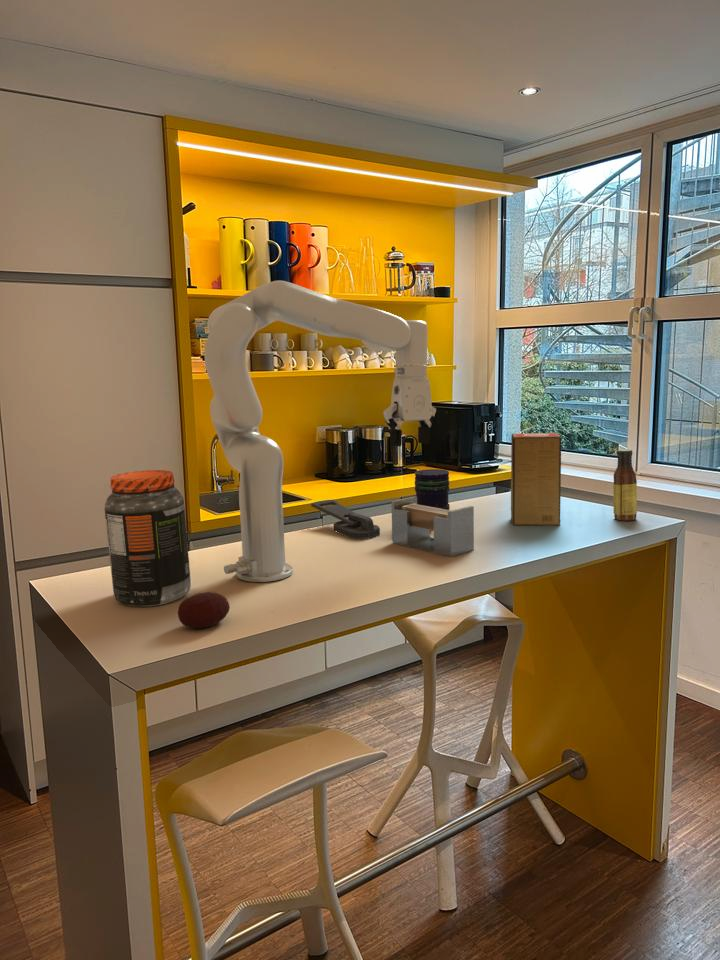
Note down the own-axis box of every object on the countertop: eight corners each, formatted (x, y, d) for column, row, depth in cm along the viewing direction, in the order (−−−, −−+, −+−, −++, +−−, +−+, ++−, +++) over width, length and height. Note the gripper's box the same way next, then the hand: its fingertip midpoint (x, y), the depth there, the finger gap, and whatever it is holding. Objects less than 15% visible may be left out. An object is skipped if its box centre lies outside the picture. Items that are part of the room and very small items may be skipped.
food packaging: (556, 518, 213) (558, 432, 209) (561, 525, 204) (562, 436, 200) (510, 518, 215) (510, 432, 211) (512, 525, 206) (512, 436, 201)
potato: (171, 627, 136) (169, 595, 135) (220, 613, 143) (218, 583, 142) (189, 638, 131) (187, 604, 130) (239, 623, 137) (237, 591, 136)
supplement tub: (172, 580, 165) (163, 465, 161) (204, 596, 153) (196, 473, 148) (101, 595, 155) (90, 474, 151) (130, 615, 143) (118, 484, 139)
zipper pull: (333, 498, 218) (384, 511, 198) (334, 520, 220) (385, 535, 199) (307, 502, 213) (357, 516, 193) (308, 525, 215) (358, 541, 194)
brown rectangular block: (449, 534, 178) (449, 515, 177) (402, 524, 190) (401, 506, 189) (462, 530, 181) (461, 511, 180) (414, 520, 193) (414, 503, 192)
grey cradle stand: (451, 557, 176) (450, 512, 175) (392, 542, 191) (391, 501, 189) (473, 549, 182) (473, 506, 180) (414, 536, 197) (414, 496, 195)
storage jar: (447, 518, 217) (446, 468, 214) (452, 526, 207) (452, 474, 204) (413, 520, 216) (412, 469, 214) (417, 527, 207) (416, 475, 204)
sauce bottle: (640, 518, 210) (642, 449, 206) (631, 522, 205) (633, 452, 202) (617, 515, 214) (619, 447, 211) (608, 519, 209) (610, 450, 206)
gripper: (396, 373, 167) (395, 448, 170) (446, 373, 179) (445, 443, 182) (374, 373, 173) (373, 445, 175) (423, 372, 184) (422, 441, 187)
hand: (410, 444), depth 178 cm, fingers open, 9 cm apart
